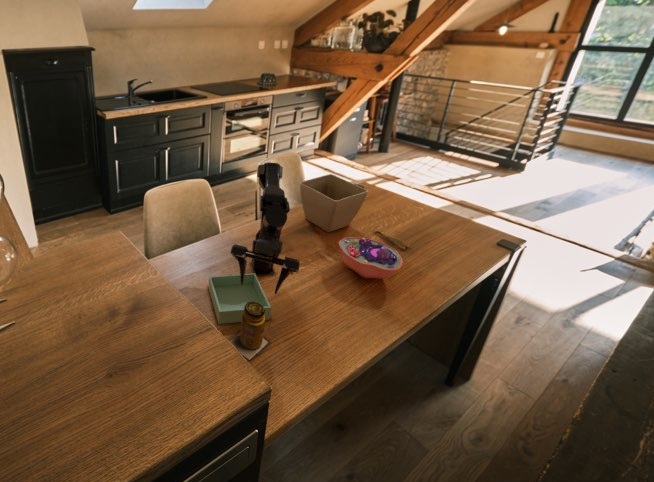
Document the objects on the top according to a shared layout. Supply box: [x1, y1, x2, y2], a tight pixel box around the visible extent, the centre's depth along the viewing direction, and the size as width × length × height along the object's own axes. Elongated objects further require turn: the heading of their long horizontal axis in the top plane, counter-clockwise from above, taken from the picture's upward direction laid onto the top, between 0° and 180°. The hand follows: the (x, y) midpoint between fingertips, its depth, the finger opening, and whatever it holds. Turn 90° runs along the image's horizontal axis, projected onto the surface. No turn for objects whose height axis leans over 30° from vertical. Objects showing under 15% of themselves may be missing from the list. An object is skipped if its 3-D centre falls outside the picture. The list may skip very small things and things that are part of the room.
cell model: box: [338, 236, 404, 280], centre depth 130 cm, size 17×20×11 cm
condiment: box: [229, 302, 269, 361], centre depth 101 cm, size 7×8×12 cm
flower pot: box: [299, 173, 369, 233], centre depth 158 cm, size 19×19×17 cm
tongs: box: [374, 230, 410, 251], centre depth 148 cm, size 4×13×2 cm, turn 35°
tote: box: [207, 272, 272, 325], centre depth 117 cm, size 15×15×5 cm
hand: (258, 289), depth 105 cm, fingers open, 9 cm apart
